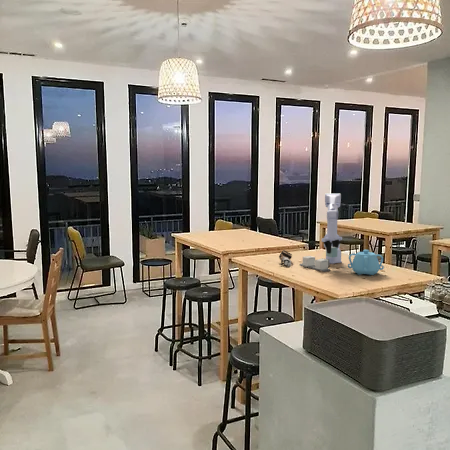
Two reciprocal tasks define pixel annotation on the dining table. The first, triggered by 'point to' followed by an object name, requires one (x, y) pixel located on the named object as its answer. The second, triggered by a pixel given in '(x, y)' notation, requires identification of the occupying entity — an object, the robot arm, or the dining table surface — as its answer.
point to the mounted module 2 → (321, 264)
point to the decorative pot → (365, 263)
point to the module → (332, 252)
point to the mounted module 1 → (308, 260)
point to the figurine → (286, 258)
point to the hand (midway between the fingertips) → (331, 252)
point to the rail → (315, 268)
